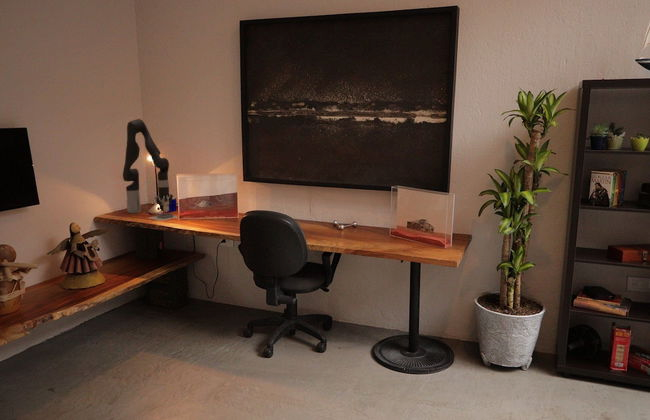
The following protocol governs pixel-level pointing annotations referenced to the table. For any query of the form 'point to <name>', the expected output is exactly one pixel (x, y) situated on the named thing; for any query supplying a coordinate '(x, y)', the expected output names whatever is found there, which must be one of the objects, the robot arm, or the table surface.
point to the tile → (165, 215)
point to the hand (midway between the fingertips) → (164, 209)
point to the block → (165, 206)
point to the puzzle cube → (172, 205)
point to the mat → (161, 218)
